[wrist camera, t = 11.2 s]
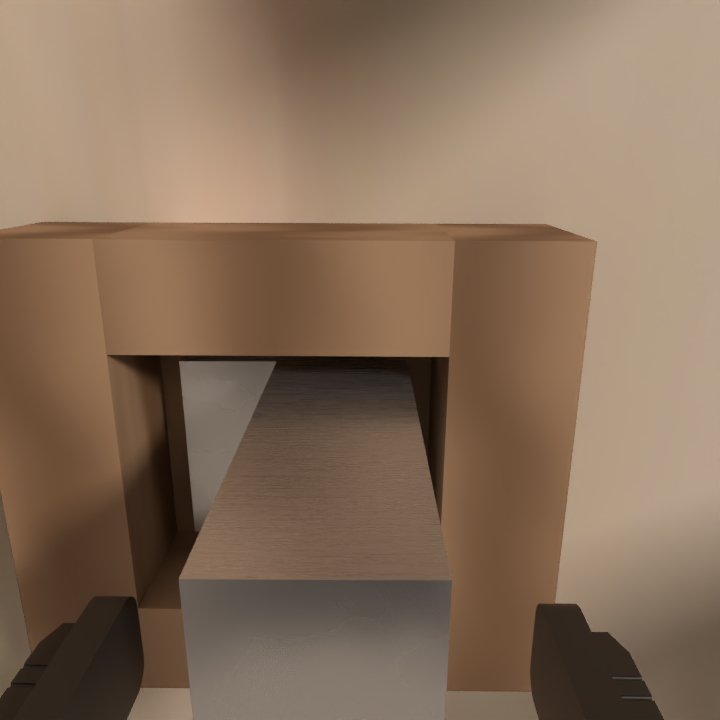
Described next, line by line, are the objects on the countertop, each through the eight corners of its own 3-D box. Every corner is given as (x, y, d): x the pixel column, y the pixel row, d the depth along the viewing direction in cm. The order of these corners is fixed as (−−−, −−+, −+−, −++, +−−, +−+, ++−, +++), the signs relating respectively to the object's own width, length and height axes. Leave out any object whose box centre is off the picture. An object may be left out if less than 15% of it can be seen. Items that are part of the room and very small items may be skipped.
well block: (546, 224, 20) (596, 241, 15) (512, 596, 24) (544, 691, 20) (41, 222, 20) (-49, 239, 16) (96, 592, 24) (37, 686, 20)
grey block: (404, 347, 21) (452, 579, 9) (401, 508, 22) (437, 870, 11) (192, 347, 21) (-25, 578, 9) (206, 507, 22) (38, 867, 11)
